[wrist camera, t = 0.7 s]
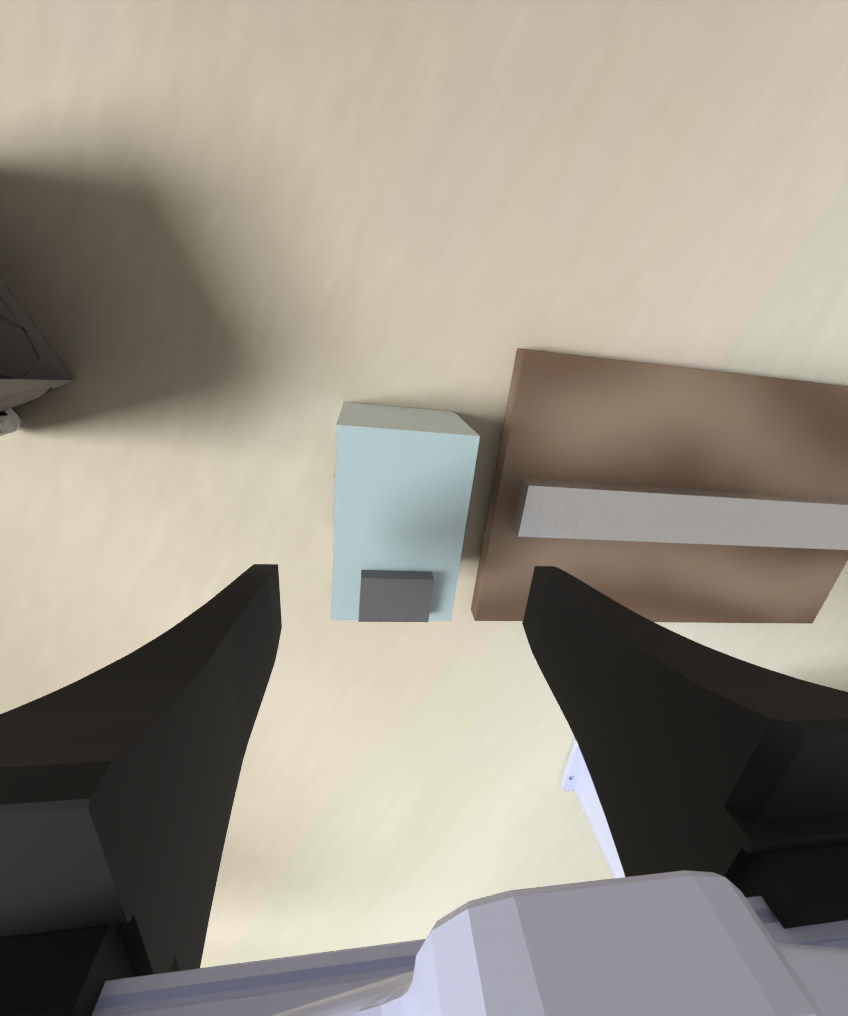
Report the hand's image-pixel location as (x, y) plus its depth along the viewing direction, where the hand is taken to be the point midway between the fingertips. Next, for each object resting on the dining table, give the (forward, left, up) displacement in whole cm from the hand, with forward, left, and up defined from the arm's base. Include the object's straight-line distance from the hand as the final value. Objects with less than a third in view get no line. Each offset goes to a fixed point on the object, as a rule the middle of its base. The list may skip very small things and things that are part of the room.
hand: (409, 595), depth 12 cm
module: (0, 0, -10) cm, 10 cm away
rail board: (0, -16, -9) cm, 19 cm away
